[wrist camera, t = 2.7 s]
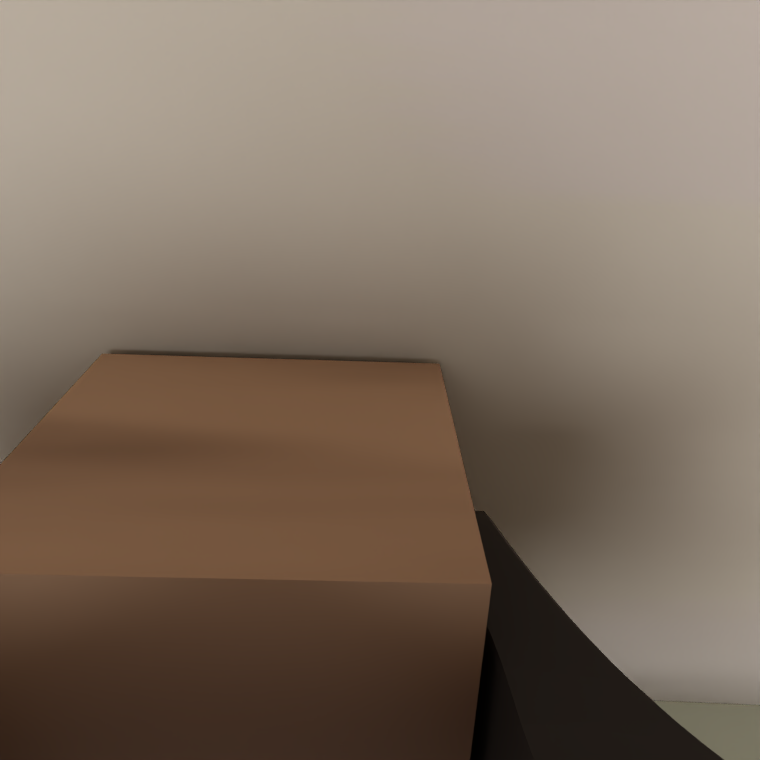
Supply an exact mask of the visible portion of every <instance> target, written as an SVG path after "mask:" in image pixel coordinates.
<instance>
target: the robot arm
mask: <svg viewBox="0 0 760 760" xmlns="http://www.w3.org/2000/svg"><path fill="white" fill-rule="evenodd" d="M475 515H476V520H477V524H478V528H479V532H480V536H481V541H482V545H483V549H484V553H485V558H486V562H487V566H488V570H489V574H490V579H491V583H492V587H491V595H490V603H489V611H488V619H487V627H486V635H485V643H484V651H483V659H482V667H481V675H480V683H479V691H478V699H477V707H476V715H475V723H474V731H473V739H472V747H471V755H470V760H724V759H723V758H721V757H720V756H719V755H717V754H716V753H715V752H713V751H712V750H711V749H710V748H708V747H707V746H706V745H704V744H703V743H702V742H701V741H700V740H698V739H697V738H696V737H695V736H693V735H692V734H691V733H690V732H689V731H687V730H686V729H685V728H684V727H682V726H681V725H680V724H679V723H678V722H676V721H675V720H674V719H673V718H672V717H671V716H670V715H668V714H667V713H666V712H665V711H664V710H663V709H662V708H661V707H659V706H658V705H657V704H656V703H655V702H654V701H653V700H652V699H650V698H649V697H648V696H647V695H646V694H645V693H644V692H643V691H641V690H640V689H639V688H638V687H637V686H636V685H635V684H633V683H632V682H631V681H630V680H629V679H628V678H627V677H626V676H625V675H624V674H623V673H622V672H621V671H620V670H619V669H618V668H617V667H616V666H615V665H614V664H613V663H612V662H611V661H610V660H609V659H608V658H607V657H606V656H605V655H604V654H603V653H602V652H601V651H600V650H599V649H598V648H597V647H596V646H595V645H594V644H593V643H592V642H591V641H590V640H589V638H588V637H587V636H586V635H585V634H584V633H583V632H582V631H581V630H580V629H579V628H578V627H577V625H576V624H575V623H574V622H573V621H572V620H571V619H570V618H569V617H568V615H567V614H566V613H565V612H564V611H563V610H562V608H561V607H560V606H559V605H558V604H557V603H556V601H555V600H554V599H553V598H552V597H551V596H550V594H549V593H548V592H547V591H546V590H545V589H544V587H543V586H542V585H541V584H540V583H539V581H538V580H537V579H536V578H535V577H534V575H533V574H532V573H531V572H530V570H529V569H528V568H527V566H526V565H525V564H524V563H523V561H522V560H521V559H520V558H519V556H518V555H517V554H516V552H515V551H514V550H513V548H512V547H511V546H510V544H509V543H508V542H507V540H506V539H505V538H504V536H503V535H502V534H501V532H500V531H499V530H498V528H497V527H496V526H495V524H494V523H493V522H492V520H491V519H490V518H489V517H488V516H487V514H486V513H485V512H484V511H475Z"/></svg>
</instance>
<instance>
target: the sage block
mask: <svg viewBox="0 0 760 760" xmlns="http://www.w3.org/2000/svg"><path fill="white" fill-rule="evenodd" d="M654 702H655V703H656V704H657V705H658V706H659V707H661V708H662V709H663V710H664V711H665V712H666V713H667V714H668V715H670V716H671V717H672V718H673V719H674V720H675V721H676V722H678V723H679V724H680V725H681V726H682V727H684V728H685V729H686V730H687V731H689V732H690V733H691V734H692V735H693V736H695V737H696V738H697V739H698V740H700V741H701V742H702V743H703V744H704V745H706V746H707V747H708V748H710V749H711V750H712V751H713V752H715V753H716V754H717V755H719V756H720V757H721V758H723V759H724V760H760V705H743V704H720V703H697V702H674V701H654Z"/></svg>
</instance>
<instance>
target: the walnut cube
mask: <svg viewBox="0 0 760 760" xmlns="http://www.w3.org/2000/svg"><path fill="white" fill-rule="evenodd" d="M491 587H492V583H491V579H490V574H489V570H488V566H487V562H486V558H485V553H484V549H483V545H482V541H481V536H480V532H479V528H478V524H477V520H476V515H475V511H474V507H473V503H472V499H471V494H470V490H469V486H468V482H467V477H466V473H465V469H464V465H463V461H462V456H461V452H460V448H459V444H458V439H457V435H456V431H455V427H454V423H453V418H452V414H451V410H450V406H449V402H448V397H447V393H446V389H445V385H444V380H443V376H442V372H441V368H440V364H434V363H400V362H366V361H333V360H299V359H265V358H231V357H197V356H164V355H130V354H101V356H100V357H99V358H98V359H97V360H96V361H95V362H94V363H93V364H92V365H91V366H90V368H89V369H88V370H87V371H86V372H85V373H84V374H83V375H82V376H81V377H80V378H79V379H78V381H77V382H76V383H75V384H74V385H73V386H72V387H71V388H70V389H69V390H68V391H67V393H66V394H65V395H64V396H63V397H62V398H61V399H60V400H59V401H58V402H57V403H56V404H55V406H54V407H53V408H52V409H51V410H50V411H49V412H48V413H47V414H46V415H45V416H44V418H43V419H42V420H41V421H40V422H39V423H38V424H37V425H36V426H35V427H34V428H33V430H32V431H31V432H30V433H29V434H28V435H27V436H26V437H25V438H24V439H23V440H22V441H21V443H20V444H19V445H18V446H17V447H16V448H15V449H14V450H13V451H12V452H11V453H10V455H9V456H8V457H7V458H6V459H5V460H4V461H3V462H2V463H1V464H0V760H470V755H471V747H472V739H473V731H474V723H475V715H476V707H477V699H478V691H479V683H480V675H481V667H482V659H483V651H484V643H485V635H486V627H487V619H488V611H489V603H490V595H491Z"/></svg>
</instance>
